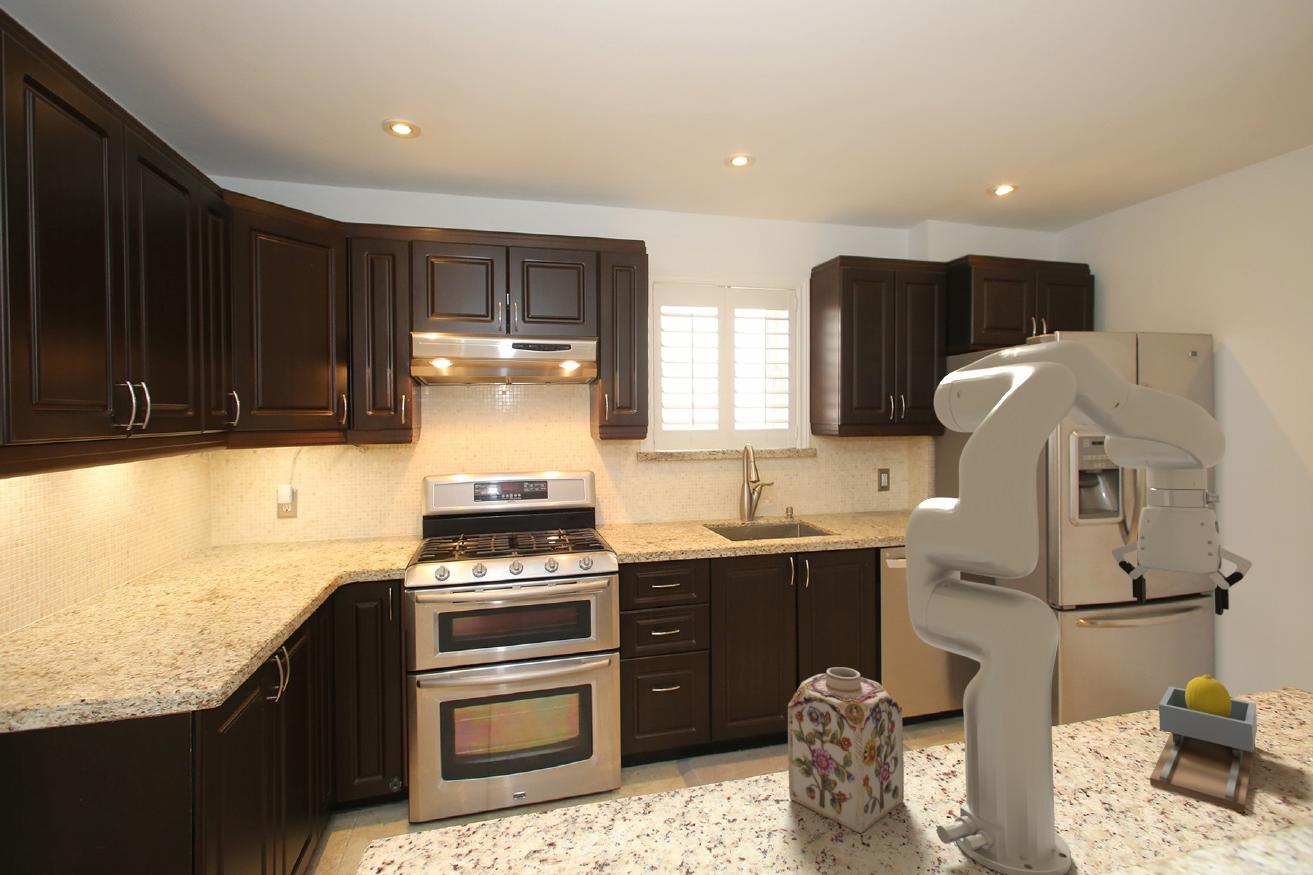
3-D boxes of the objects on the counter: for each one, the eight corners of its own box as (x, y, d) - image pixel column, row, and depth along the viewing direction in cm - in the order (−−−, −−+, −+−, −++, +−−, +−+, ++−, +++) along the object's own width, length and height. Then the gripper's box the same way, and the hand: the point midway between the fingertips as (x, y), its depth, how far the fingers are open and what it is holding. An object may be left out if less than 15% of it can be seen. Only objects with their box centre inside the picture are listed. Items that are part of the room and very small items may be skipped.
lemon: (1177, 718, 103) (1175, 668, 103) (1214, 719, 102) (1212, 669, 102) (1203, 733, 97) (1200, 680, 97) (1242, 734, 97) (1240, 681, 97)
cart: (1253, 765, 93) (1251, 724, 93) (1160, 742, 100) (1158, 704, 101) (1257, 741, 100) (1255, 703, 100) (1170, 721, 108) (1169, 686, 108)
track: (1244, 811, 84) (1243, 781, 84) (1150, 784, 91) (1149, 756, 92) (1255, 746, 102) (1254, 721, 103) (1175, 727, 110) (1175, 704, 110)
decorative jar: (786, 799, 89) (783, 671, 90) (833, 771, 97) (830, 652, 97) (863, 837, 80) (860, 694, 81) (908, 802, 88) (904, 672, 88)
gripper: (1252, 502, 97) (1255, 614, 97) (1116, 496, 110) (1118, 595, 109) (1248, 504, 92) (1251, 622, 92) (1105, 498, 105) (1108, 602, 104)
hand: (1179, 608), depth 101 cm, fingers open, 9 cm apart
